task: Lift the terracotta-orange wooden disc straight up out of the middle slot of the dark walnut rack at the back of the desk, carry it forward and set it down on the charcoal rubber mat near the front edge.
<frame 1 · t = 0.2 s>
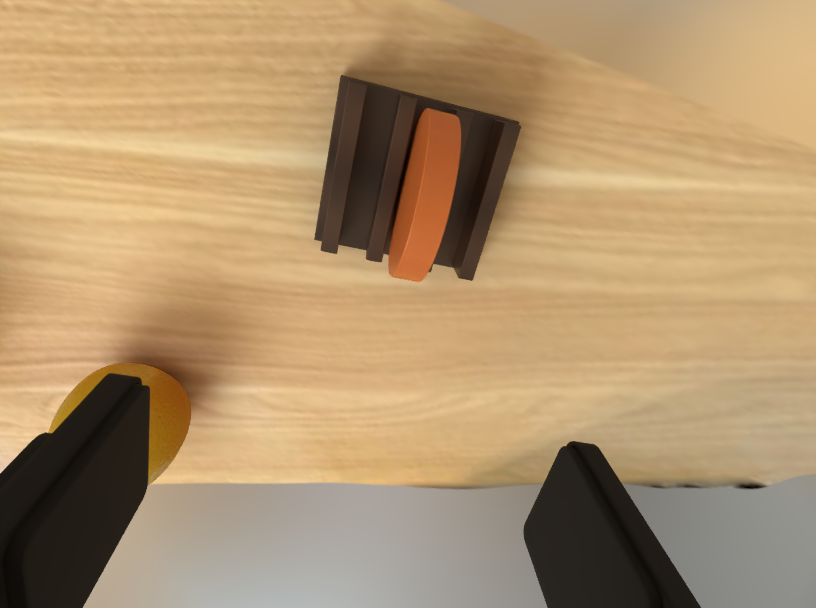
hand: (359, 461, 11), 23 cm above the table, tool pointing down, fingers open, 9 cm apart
rack: (411, 180, 30), on the table
fruit: (149, 391, 36), on the table
disc: (413, 183, 29), point 1 cm above the table, touching rack
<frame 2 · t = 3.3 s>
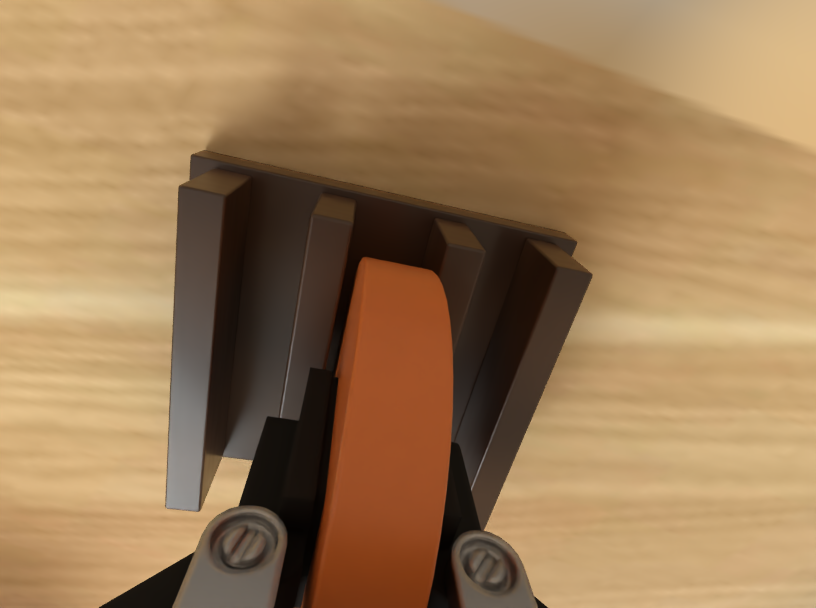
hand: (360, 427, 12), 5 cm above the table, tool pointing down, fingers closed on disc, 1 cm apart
rack: (362, 338, 16), on the table
disc: (362, 354, 15), point 1 cm above the table, touching gripper, rack
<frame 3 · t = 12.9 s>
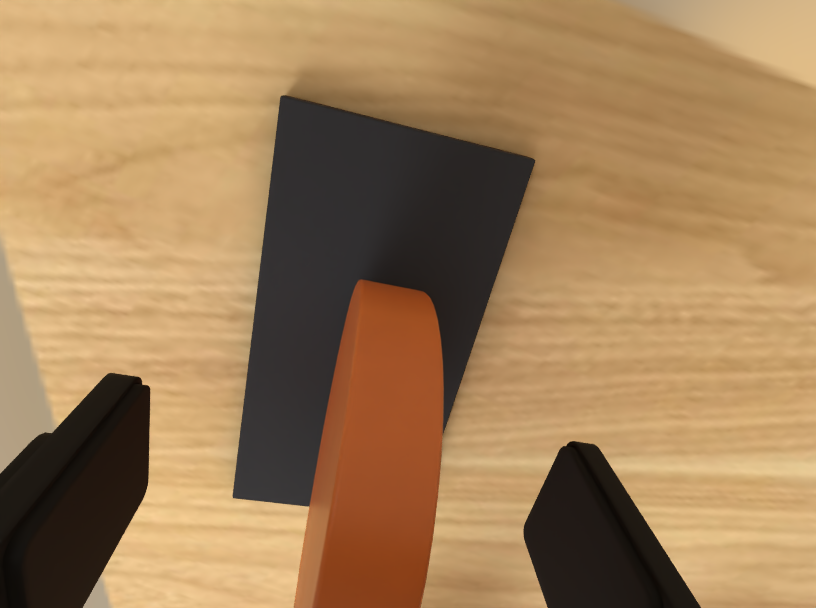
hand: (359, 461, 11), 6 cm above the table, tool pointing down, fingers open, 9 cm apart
disc: (362, 358, 15), point 1 cm above the table, touching mat
mat: (362, 344, 16), on the table
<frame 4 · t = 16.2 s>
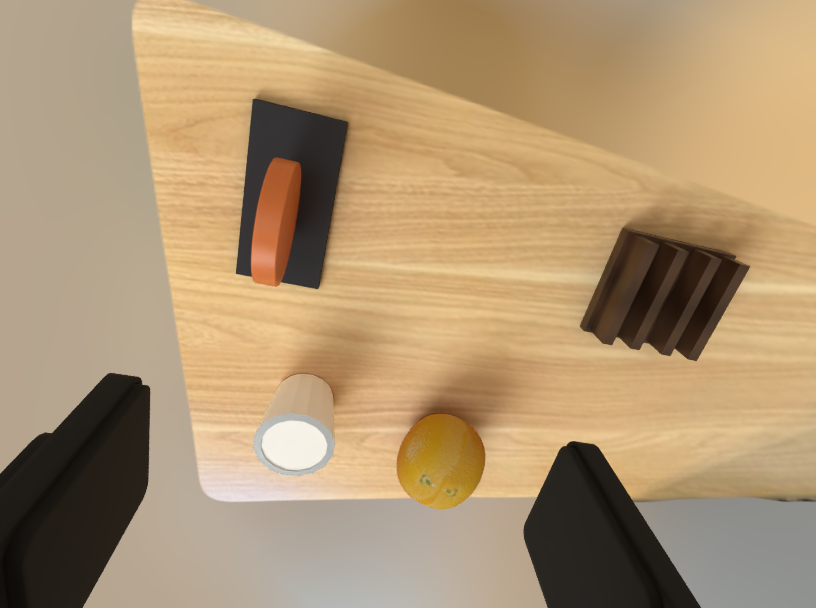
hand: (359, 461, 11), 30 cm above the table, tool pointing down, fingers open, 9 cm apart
rack: (652, 290, 44), on the table
shot glass: (304, 396, 46), on the table
fruit: (435, 431, 49), on the table
disc: (288, 204, 37), point 1 cm above the table, touching mat
mat: (289, 200, 38), on the table
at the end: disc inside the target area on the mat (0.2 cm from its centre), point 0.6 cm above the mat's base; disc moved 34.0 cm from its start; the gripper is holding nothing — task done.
